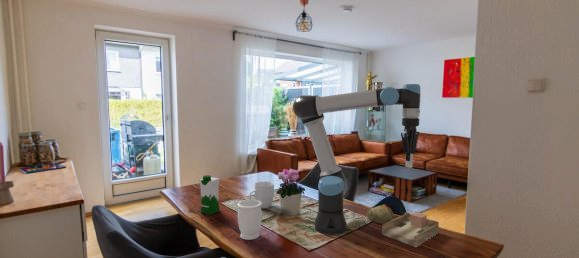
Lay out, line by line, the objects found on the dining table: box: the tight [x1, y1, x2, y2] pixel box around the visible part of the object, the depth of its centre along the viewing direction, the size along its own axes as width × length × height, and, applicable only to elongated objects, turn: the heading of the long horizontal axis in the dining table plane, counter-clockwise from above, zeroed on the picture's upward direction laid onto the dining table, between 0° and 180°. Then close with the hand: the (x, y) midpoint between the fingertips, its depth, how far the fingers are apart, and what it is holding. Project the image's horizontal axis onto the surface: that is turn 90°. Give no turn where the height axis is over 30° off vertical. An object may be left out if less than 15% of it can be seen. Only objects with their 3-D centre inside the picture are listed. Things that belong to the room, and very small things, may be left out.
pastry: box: [366, 204, 396, 225], centre depth 153 cm, size 14×12×8 cm
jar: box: [236, 199, 263, 241], centre depth 135 cm, size 11×10×15 cm
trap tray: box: [381, 211, 440, 248], centre depth 137 cm, size 16×20×6 cm
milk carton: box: [198, 175, 221, 216], centre depth 164 cm, size 9×9×20 cm
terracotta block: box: [410, 211, 428, 228], centre depth 141 cm, size 5×5×5 cm
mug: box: [248, 181, 275, 209], centre depth 172 cm, size 15×11×13 cm
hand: (408, 167), depth 145 cm, fingers closed
